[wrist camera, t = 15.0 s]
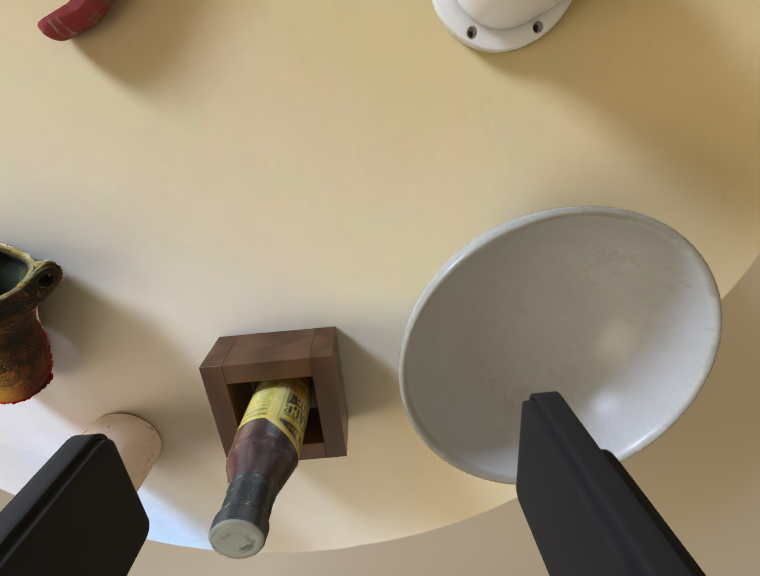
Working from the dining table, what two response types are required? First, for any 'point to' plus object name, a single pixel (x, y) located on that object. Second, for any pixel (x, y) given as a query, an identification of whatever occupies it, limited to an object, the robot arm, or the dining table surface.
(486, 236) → the decorative bowl
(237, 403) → the holder
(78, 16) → the pliers
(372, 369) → the dining table surface
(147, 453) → the teacup with lid
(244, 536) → the sauce bottle
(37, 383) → the pot
